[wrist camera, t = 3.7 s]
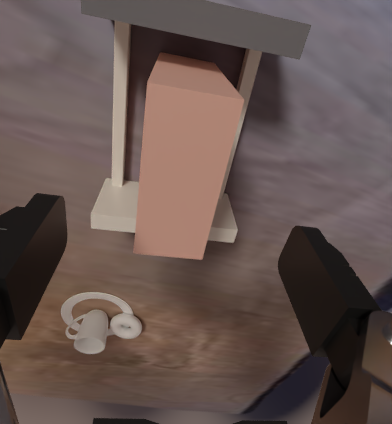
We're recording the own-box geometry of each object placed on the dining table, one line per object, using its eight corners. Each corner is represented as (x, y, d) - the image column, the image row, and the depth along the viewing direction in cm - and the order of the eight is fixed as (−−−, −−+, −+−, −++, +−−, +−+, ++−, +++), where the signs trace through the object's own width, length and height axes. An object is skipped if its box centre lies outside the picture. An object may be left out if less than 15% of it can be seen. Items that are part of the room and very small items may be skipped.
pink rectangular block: (160, 52, 18) (147, 82, 10) (213, 62, 19) (244, 99, 10) (148, 166, 22) (133, 253, 14) (192, 172, 23) (202, 259, 15)
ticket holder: (107, -16, 16) (80, -29, 11) (275, 22, 17) (311, 25, 13) (106, 192, 23) (89, 236, 19) (223, 207, 25) (234, 250, 20)
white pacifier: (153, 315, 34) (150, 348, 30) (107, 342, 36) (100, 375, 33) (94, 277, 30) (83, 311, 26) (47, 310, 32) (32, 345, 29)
